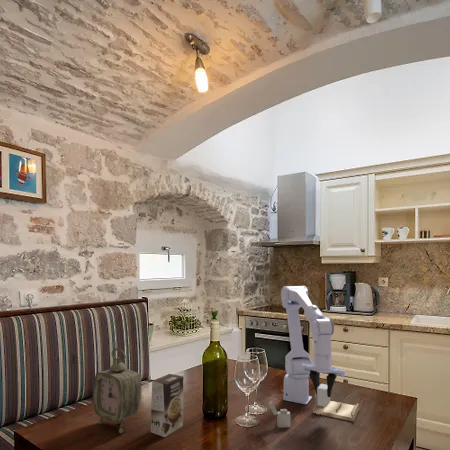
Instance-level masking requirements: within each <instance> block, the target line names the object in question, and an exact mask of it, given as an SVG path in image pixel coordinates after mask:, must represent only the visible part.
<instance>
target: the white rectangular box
mask: <svg viewBox="0 0 450 450" xmlns="http://www.w3.org/2000/svg"><path fill="white" fill-rule="evenodd" d="M330 401H331V396H330V397H328V396H327V383H325V384H324V383H319V387H318V388H317V403H318V405H319V406H324V407H327V406H328V404H329V403H330Z"/></svg>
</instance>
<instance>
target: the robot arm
mask: <svg viewBox="0 0 450 450" xmlns="http://www.w3.org/2000/svg"><path fill="white" fill-rule="evenodd" d="M280 298H281V304H282V307H283V308H284V309H286V310H285V311H286V318H287V325H288V333H289V342H290V343H289V344H290V349H291V350H290V351H289V352H288V353H287V354H286V355H285V356H284V357H285V359H284V360H285V363H284V365H285V366H284V368H285V369H284V370H285V372H286V374H285V375H284V376H283V377H284V378H283V399H282V400H283V401H288V402H291V403H292V402H293V403H296V404H297V403H298V404H302V405H308V403H309V402H310V401H311V400H312V398H313V396H311V395H310V393H309V391H310V390H309V389H310V387H309V385H310V384H309V378H310V380H311V382H312V384H313V387H314V393H315V392H316V395H317V388H318V387H319V386H320V374H326V375H327V376H326V377H325V378H326V385H327V396H328V397H330V398H331V396H332V391H333V387H334V384H335V381H336V379H337V377H338V376H339V377H341V378H345V377H346V369H342V368H338V367H334V366H332V365H333V364H332V336H333V334H334V332H335V325H334V322H333V321H332V318H331V317H327V316H325V315H324V314H323V313H322V311H321V310H320V309H319V307H318V306H317V305H316V304H313V303H312V300H311V299H310V298H309V290H308V288H307V286H306V285H293V286H292V285H287V286H286V285H284V286H283V287H282V288H281V291H280ZM301 308H302V309H303V310H304V311H303V315H304V317H305V318H306V320H307V321H308V324H310V327H309V328H310V331H311V338H312V340H313V359H314V360H312V358H311V354H310V353H308V352H307V351H306V350H305V349H304V342H303V335H302V328H301V319H300V313H299V310H300V309H301ZM313 361H314V363H313Z"/></svg>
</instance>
